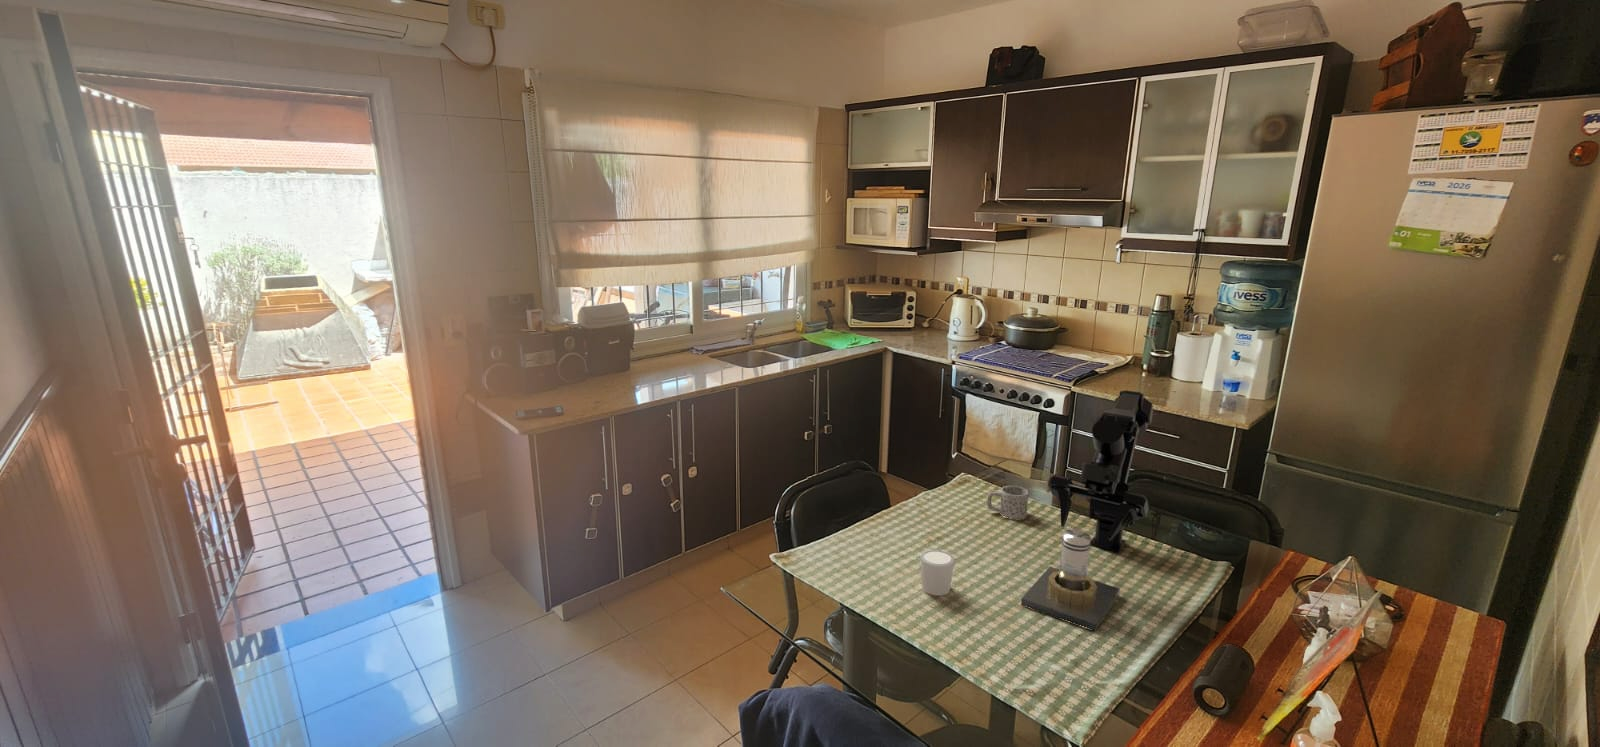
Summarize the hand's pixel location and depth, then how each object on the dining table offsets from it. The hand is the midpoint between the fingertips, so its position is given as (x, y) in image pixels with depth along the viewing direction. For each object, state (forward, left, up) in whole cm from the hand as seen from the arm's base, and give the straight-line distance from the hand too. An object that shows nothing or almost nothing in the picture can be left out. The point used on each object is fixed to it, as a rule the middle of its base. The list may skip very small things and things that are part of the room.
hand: (1085, 532), depth 135 cm
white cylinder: (+19, -23, -13) cm, 32 cm away
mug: (-25, -26, -13) cm, 38 cm away
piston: (+6, 0, -11) cm, 12 cm away
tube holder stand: (+6, 0, -12) cm, 14 cm away
